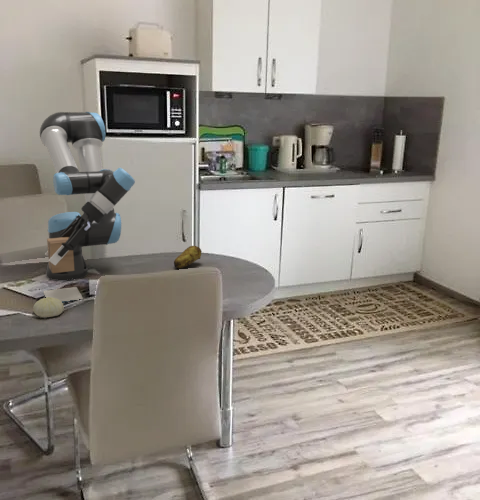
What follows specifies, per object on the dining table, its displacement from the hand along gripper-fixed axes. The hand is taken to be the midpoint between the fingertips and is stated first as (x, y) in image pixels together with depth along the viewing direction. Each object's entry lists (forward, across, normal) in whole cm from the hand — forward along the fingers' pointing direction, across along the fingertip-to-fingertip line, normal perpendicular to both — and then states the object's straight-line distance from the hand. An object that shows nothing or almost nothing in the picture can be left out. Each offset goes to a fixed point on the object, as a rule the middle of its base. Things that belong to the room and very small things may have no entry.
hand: (50, 259), depth 185 cm
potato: (-29, +18, -49) cm, 60 cm away
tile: (+7, +1, -12) cm, 14 cm away
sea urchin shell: (+12, -12, -8) cm, 19 cm away
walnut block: (0, 0, -5) cm, 5 cm away
